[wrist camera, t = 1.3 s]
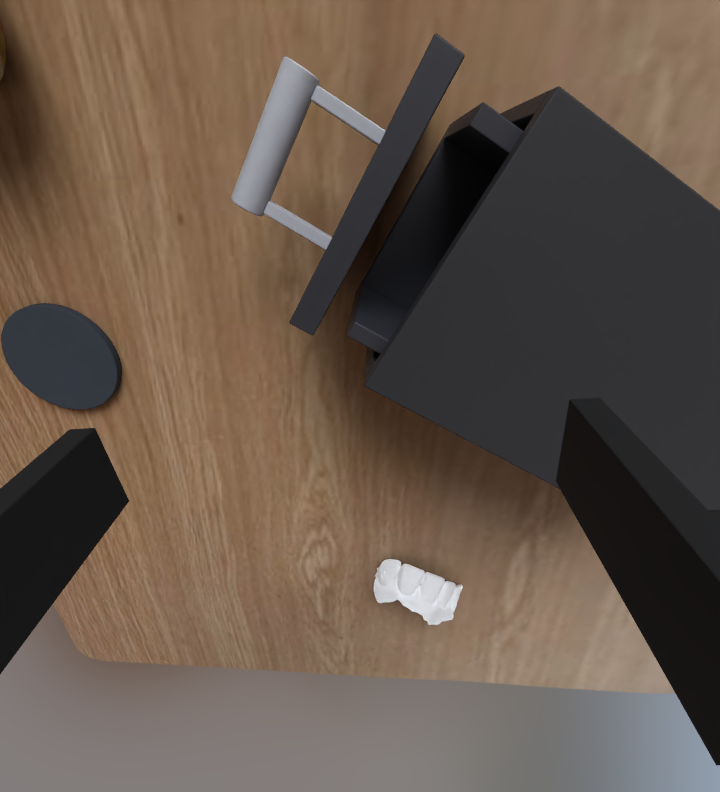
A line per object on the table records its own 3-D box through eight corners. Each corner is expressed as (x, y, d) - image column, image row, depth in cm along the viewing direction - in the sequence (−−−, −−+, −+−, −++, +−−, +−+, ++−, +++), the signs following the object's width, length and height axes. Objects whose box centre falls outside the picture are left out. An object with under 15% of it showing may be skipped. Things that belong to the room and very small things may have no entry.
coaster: (1, 375, 31) (-6, 378, 31) (15, 281, 28) (8, 283, 27) (107, 422, 33) (103, 426, 32) (134, 339, 29) (129, 342, 29)
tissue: (406, 541, 37) (409, 577, 34) (467, 583, 40) (475, 621, 36) (365, 571, 40) (364, 608, 36) (425, 609, 42) (429, 648, 38)
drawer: (240, 237, 25) (181, 265, 18) (328, 17, 20) (297, -72, 13) (548, 413, 30) (603, 492, 22) (682, 270, 25) (808, 312, 17)
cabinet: (369, 317, 28) (363, 386, 19) (488, 118, 22) (558, 84, 13) (593, 443, 32) (676, 550, 23) (741, 301, 26) (926, 369, 17)
